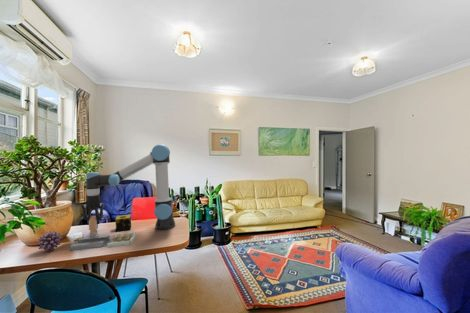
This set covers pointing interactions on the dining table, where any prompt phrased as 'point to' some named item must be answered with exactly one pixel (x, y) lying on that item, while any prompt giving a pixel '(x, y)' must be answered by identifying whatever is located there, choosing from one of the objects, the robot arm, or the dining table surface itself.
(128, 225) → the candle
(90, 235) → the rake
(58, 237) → the flower
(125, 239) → the chip
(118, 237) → the chip
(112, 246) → the tray
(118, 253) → the dining table surface
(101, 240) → the slot board
